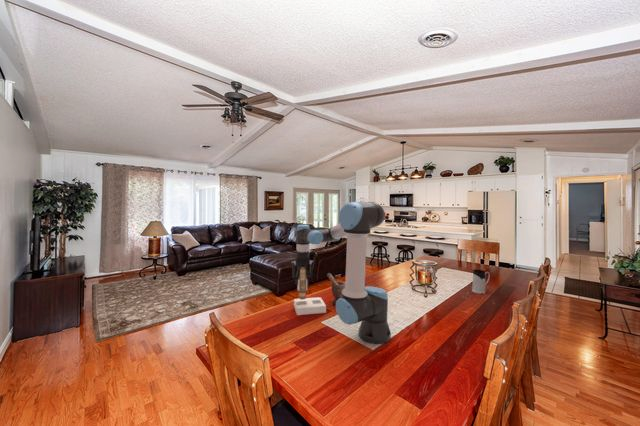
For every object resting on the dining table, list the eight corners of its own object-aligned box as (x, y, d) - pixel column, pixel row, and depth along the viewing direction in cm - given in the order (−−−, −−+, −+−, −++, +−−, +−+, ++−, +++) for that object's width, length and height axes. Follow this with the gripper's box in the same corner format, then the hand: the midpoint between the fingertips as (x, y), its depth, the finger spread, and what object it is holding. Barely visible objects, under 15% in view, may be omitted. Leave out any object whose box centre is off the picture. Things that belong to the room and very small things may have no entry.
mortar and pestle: (334, 308, 160) (334, 275, 159) (324, 304, 166) (325, 272, 165) (347, 304, 167) (348, 272, 166) (338, 299, 174) (338, 269, 173)
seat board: (326, 312, 154) (326, 305, 154) (297, 315, 150) (297, 308, 150) (320, 303, 167) (320, 297, 167) (293, 305, 163) (293, 299, 163)
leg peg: (306, 299, 156) (306, 269, 155) (299, 299, 155) (299, 269, 154) (305, 296, 160) (305, 267, 159) (298, 297, 159) (298, 267, 158)
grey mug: (468, 289, 195) (469, 269, 194) (483, 288, 200) (484, 268, 199) (479, 294, 187) (480, 273, 186) (494, 292, 191) (495, 271, 190)
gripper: (315, 249, 161) (315, 286, 163) (287, 250, 158) (287, 288, 159) (318, 251, 154) (317, 291, 155) (289, 252, 150) (288, 293, 152)
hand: (302, 289), depth 157 cm, fingers closed on leg peg, 4 cm apart
